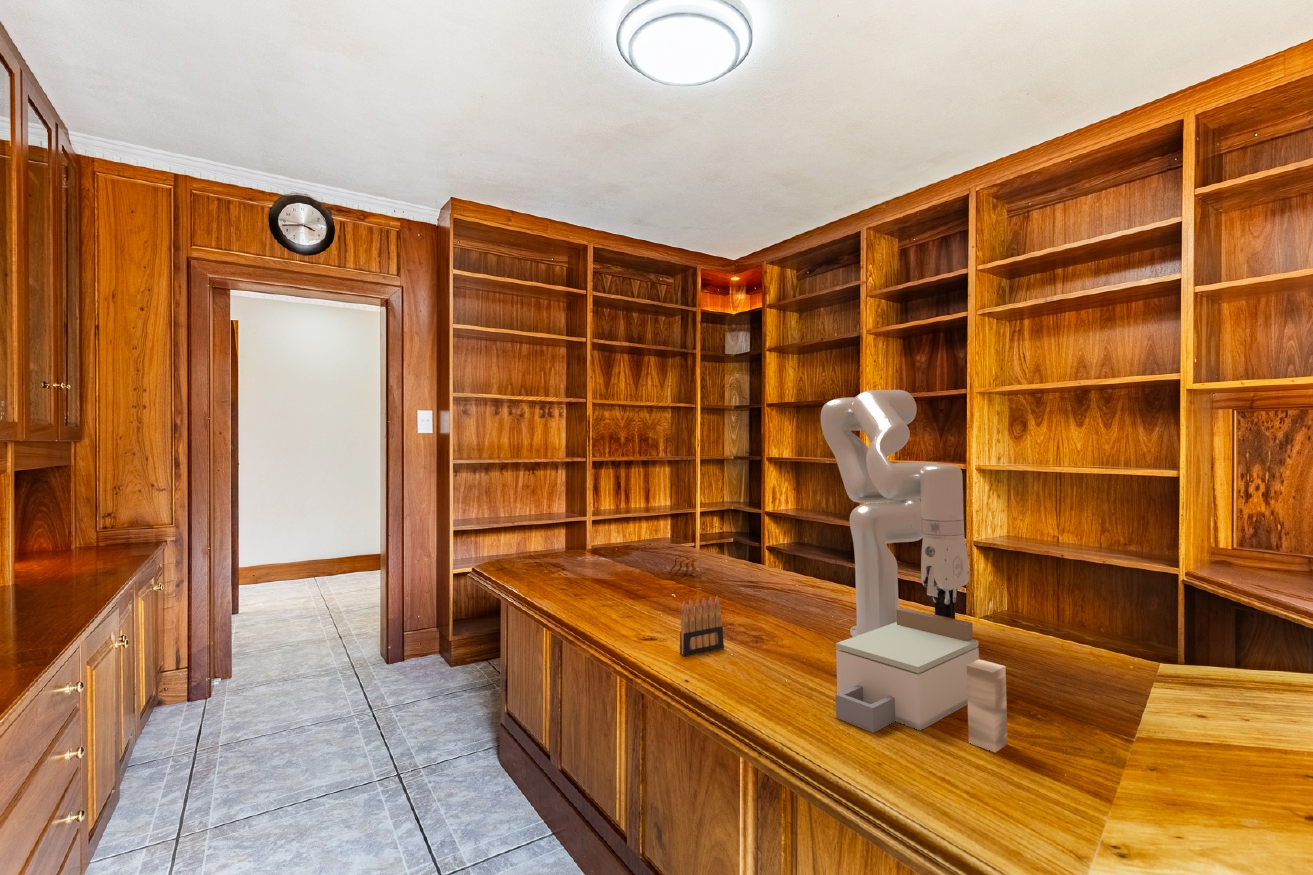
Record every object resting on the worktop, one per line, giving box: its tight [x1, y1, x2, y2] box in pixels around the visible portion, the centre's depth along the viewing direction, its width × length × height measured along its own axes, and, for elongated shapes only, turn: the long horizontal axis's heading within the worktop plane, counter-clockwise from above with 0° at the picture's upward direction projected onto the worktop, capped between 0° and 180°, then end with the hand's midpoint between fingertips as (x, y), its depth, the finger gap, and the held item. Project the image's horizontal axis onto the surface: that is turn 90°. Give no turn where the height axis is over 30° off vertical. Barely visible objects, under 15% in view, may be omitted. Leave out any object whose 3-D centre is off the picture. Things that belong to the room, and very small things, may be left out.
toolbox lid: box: [835, 607, 979, 673], centre depth 114 cm, size 20×16×4 cm
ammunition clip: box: [679, 595, 725, 657], centre depth 142 cm, size 11×2×12 cm, turn 118°
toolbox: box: [834, 646, 980, 734], centre depth 112 cm, size 26×16×9 cm, turn 127°
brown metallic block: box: [967, 658, 1009, 754], centre depth 97 cm, size 4×4×12 cm
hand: (945, 622), depth 122 cm, fingers closed
